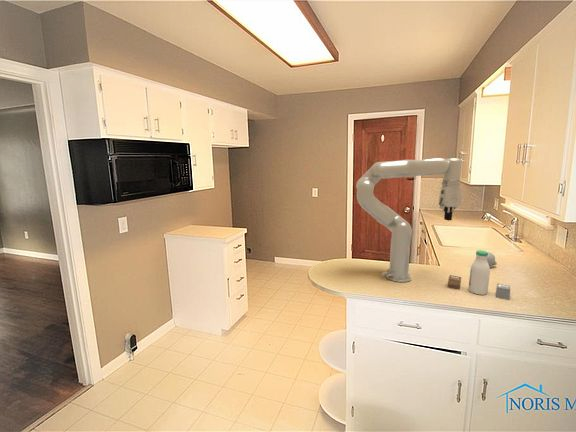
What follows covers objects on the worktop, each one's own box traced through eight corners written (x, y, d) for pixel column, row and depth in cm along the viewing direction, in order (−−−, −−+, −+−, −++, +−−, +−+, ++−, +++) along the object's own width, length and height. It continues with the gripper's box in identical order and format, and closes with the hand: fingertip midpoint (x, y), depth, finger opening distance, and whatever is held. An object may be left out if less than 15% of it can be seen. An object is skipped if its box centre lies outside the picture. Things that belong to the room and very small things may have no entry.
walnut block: (459, 290, 145) (460, 280, 144) (447, 287, 148) (448, 277, 147) (460, 286, 149) (461, 276, 148) (449, 284, 152) (449, 274, 151)
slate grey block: (509, 300, 134) (510, 289, 133) (495, 297, 137) (496, 286, 136) (508, 295, 138) (510, 285, 137) (495, 293, 141) (497, 283, 140)
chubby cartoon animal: (473, 270, 176) (470, 258, 174) (487, 260, 179) (485, 248, 177) (485, 274, 170) (482, 261, 167) (499, 264, 173) (497, 251, 170)
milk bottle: (491, 293, 140) (496, 253, 136) (478, 296, 138) (483, 254, 134) (476, 287, 147) (481, 248, 144) (464, 289, 145) (468, 249, 141)
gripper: (445, 184, 142) (442, 222, 145) (469, 183, 147) (465, 220, 150) (433, 183, 149) (430, 219, 152) (456, 182, 154) (453, 217, 157)
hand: (447, 219), depth 151 cm, fingers closed
